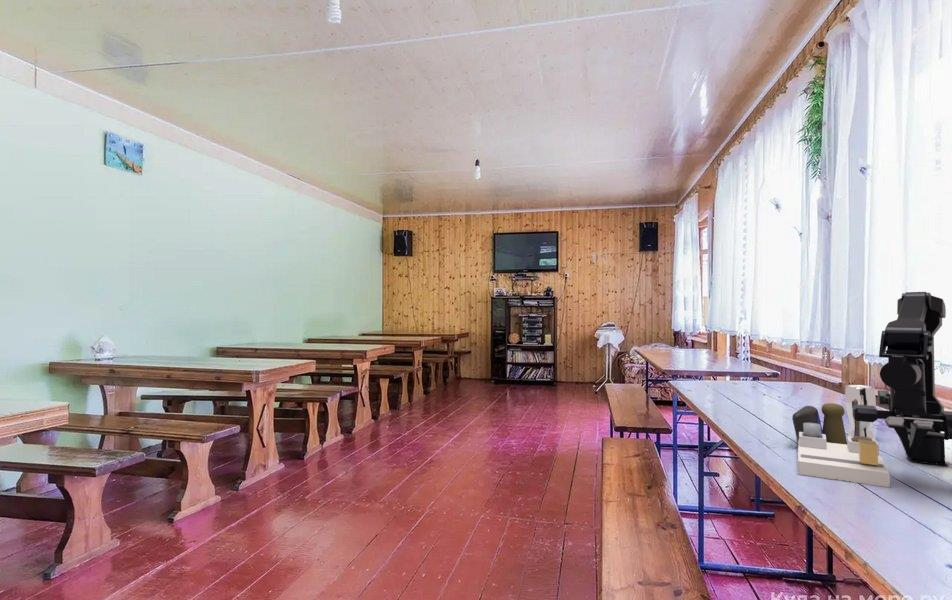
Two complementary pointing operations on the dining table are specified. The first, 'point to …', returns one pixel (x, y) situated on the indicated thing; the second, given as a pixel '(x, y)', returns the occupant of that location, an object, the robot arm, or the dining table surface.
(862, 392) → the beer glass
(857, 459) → the control panel
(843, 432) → the olive knobbed pillar
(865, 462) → the tan wooden brick
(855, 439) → the walnut button
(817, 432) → the grey button
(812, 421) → the leaning round-cornered charcoal block
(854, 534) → the dining table surface
